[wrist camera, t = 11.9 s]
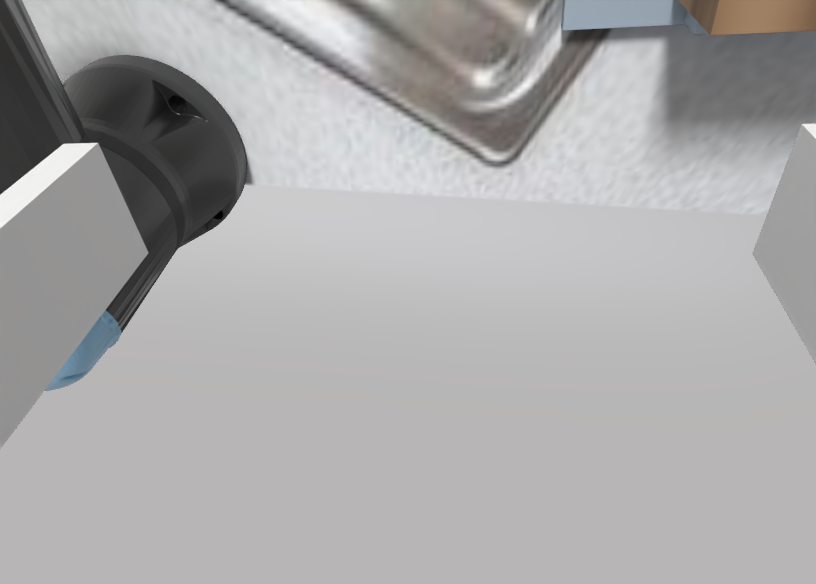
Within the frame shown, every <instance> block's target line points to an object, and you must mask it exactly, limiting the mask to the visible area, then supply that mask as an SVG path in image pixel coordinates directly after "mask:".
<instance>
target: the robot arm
mask: <svg viewBox="0 0 816 584" xmlns="http://www.w3.org/2000/svg"><path fill="white" fill-rule="evenodd" d="M245 180H246V157H245V152H244V148H243V144H242V141H241V139H240V136H239V134H238V131H237V129H236V127H235V125H234V124H233V122H232V120H231V119H230V117H229V116H228V114H227V113H226V111H225V110H224V109H223V107H222V106H221V105H220V104H219V102H218V101H217V100H216V99H215V98H214V97H213V96H212V95H211V94H210V93H209V92H208V91H207V90H206V89H205V88H203V87H202V86H201V85H200V84H199V83H197V82H196V81H195V80H193V79H192V78H190V77H189V76H187V75H186V74H184V73H182V72H181V71H179V70H177V69H175V68H173V67H171V66H169V65H167V64H164V63H161V62H159V61H156V60H152V59H149V58H144V57H139V56H130V55H119V56H111V57H106V58H102V59H99V60H97V61H94V62H92V63H90V64H89V65H87V66H86V67H84V68H83V69H81V70H80V71H78V72H77V73H75V74H74V75H72V76H71V77H70V78H68V79H67V80H66V81H65V82H64V84H63V85H62V83H61V81H60V79H59V77H58V75H57V73H56V71H55V69H54V67H53V65H52V63H51V61H50V59H49V57H48V55H47V52H46V50H45V48H44V46H43V44H42V42H41V40H40V38H39V36H38V33H37V31H36V29H35V27H34V25H33V23H32V21H31V19H30V17H29V15H28V12H27V10H26V8H25V6H24V4H23V2H22V0H0V449H1V448H2V446H3V445H4V443H5V442H6V441H7V440H8V438H9V437H10V435H11V434H12V433H13V432H14V430H15V429H16V428H17V426H18V425H19V424H20V422H21V421H22V420H23V418H24V417H25V416H26V414H27V413H28V412H29V411H30V409H31V408H32V406H33V405H34V404H35V403H36V401H37V400H38V399H39V397H40V396H41V395H42V393H43V392H44V391H49V390H54V389H59V388H62V387H65V386H68V385H71V384H72V383H74V382H76V381H78V380H80V379H81V378H83V377H84V376H85V375H86V374H87V373H88V372H89V371H90V370H91V369H92V368H93V366H94V365H95V364H96V363H97V362H98V360H99V359H100V358H101V357H102V355H103V354H104V353H105V352H106V351H107V349H108V348H110V347H112V346H113V345H114V344H115V343H116V342H117V341H118V339H119V337H120V335H121V333H122V332H123V330H124V329H125V327H126V326H127V324H128V323H129V321H130V319H131V318H132V316H133V315H134V313H135V312H136V311H137V309H138V308H139V306H140V304H141V303H142V301H143V300H144V298H145V297H146V295H147V294H148V292H149V291H150V289H151V288H152V286H153V285H154V283H155V282H156V280H157V279H158V277H159V276H160V274H161V273H162V271H163V270H164V268H165V267H166V265H167V264H168V262H169V261H170V259H171V258H172V256H173V255H174V253H175V252H176V250H177V249H178V248H179V247H181V246H183V245H185V244H186V243H188V242H190V241H192V240H194V239H195V238H197V237H199V236H201V235H202V234H204V233H206V232H208V231H209V230H211V229H213V228H214V227H216V226H217V225H218V224H219V223H221V222H222V221H223V220H224V219H225V218H226V217H227V215H228V214H229V213H230V211H231V210H232V208H233V207H234V205H235V204H236V202H237V200H238V199H239V197H240V195H241V193H242V191H243V188H244V185H245ZM753 256H754V257H755V259H756V261H757V263H758V264H759V266H760V268H761V269H762V271H763V273H764V275H765V276H766V278H767V280H768V282H769V283H770V285H771V287H772V289H773V290H774V292H775V294H776V296H777V297H778V299H779V301H780V302H781V304H782V306H783V308H784V310H785V311H786V313H787V315H788V316H789V318H790V320H791V322H792V323H793V325H794V327H795V329H796V330H797V332H798V334H799V336H800V337H801V339H802V341H803V342H804V344H805V346H806V348H807V350H808V351H809V353H810V355H811V356H812V358H813V360H814V362H815V363H816V124H801V127H800V130H799V132H798V135H797V138H796V140H795V143H794V145H793V148H792V151H791V153H790V156H789V159H788V161H787V164H786V166H785V169H784V172H783V174H782V177H781V180H780V182H779V185H778V188H777V190H776V193H775V195H774V198H773V201H772V203H771V206H770V209H769V211H768V214H767V216H766V219H765V222H764V225H763V227H762V230H761V232H760V235H759V238H758V240H757V243H756V245H755V248H754V251H753Z"/></svg>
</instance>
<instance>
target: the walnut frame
mask: <svg viewBox="0 0 816 584" xmlns="http://www.w3.org/2000/svg"><path fill="white" fill-rule="evenodd" d="M678 1H679V2H680V3H681V4H682V5H683V6H684V7H685V8H686V10H687V11H688V12H689V13H690V14H691V15H692V16H693V17H694V18H695V19H696V20H697V21H698V22H699V24H700V25H701V26H702V27H703V28H704V29H705V30H706V31H707V32H708V33H709V34H710V35H729V34H751V33H772V32H793V31H815V30H816V0H678Z"/></svg>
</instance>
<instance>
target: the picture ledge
mask: <svg viewBox="0 0 816 584" xmlns="http://www.w3.org/2000/svg"><path fill="white" fill-rule="evenodd" d="M681 24H686V26H687V27H688V28H689V29H690V30H691V31H692V32H693V34H694V35H703V34H709V33H708V32H707V31H706V30H705V29H704V28H703V27H702V26H701V25H700V24H699V22H698V21H697V20H696V19H695V18H694V17H693V16H692V15H691V14H690V13H689V12H688V11H687V10H686V8H685V7H684V6H683V5H682V4H681V3H680V2H679V1H678V0H564V1H563V12H562V24H561V26H562V30H580V29H600V28H621V27H641V26H661V25H681Z"/></svg>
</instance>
